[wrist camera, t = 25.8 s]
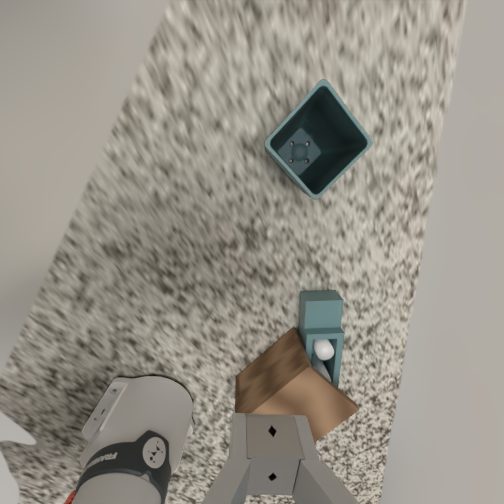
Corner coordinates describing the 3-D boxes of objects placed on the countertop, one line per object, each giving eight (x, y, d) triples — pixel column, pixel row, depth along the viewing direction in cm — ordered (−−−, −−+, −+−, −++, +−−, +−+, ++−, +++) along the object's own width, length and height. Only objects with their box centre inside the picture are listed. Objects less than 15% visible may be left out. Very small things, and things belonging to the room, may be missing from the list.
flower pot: (341, 152, 34) (375, 143, 26) (297, 197, 36) (315, 201, 27) (301, 103, 32) (324, 75, 24) (256, 153, 34) (262, 143, 25)
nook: (278, 408, 48) (287, 462, 39) (235, 376, 45) (234, 426, 36) (335, 363, 45) (359, 409, 36) (293, 326, 42) (308, 366, 33)
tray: (327, 370, 46) (338, 395, 40) (296, 371, 45) (304, 397, 40) (334, 290, 41) (349, 306, 35) (300, 291, 40) (309, 308, 35)
